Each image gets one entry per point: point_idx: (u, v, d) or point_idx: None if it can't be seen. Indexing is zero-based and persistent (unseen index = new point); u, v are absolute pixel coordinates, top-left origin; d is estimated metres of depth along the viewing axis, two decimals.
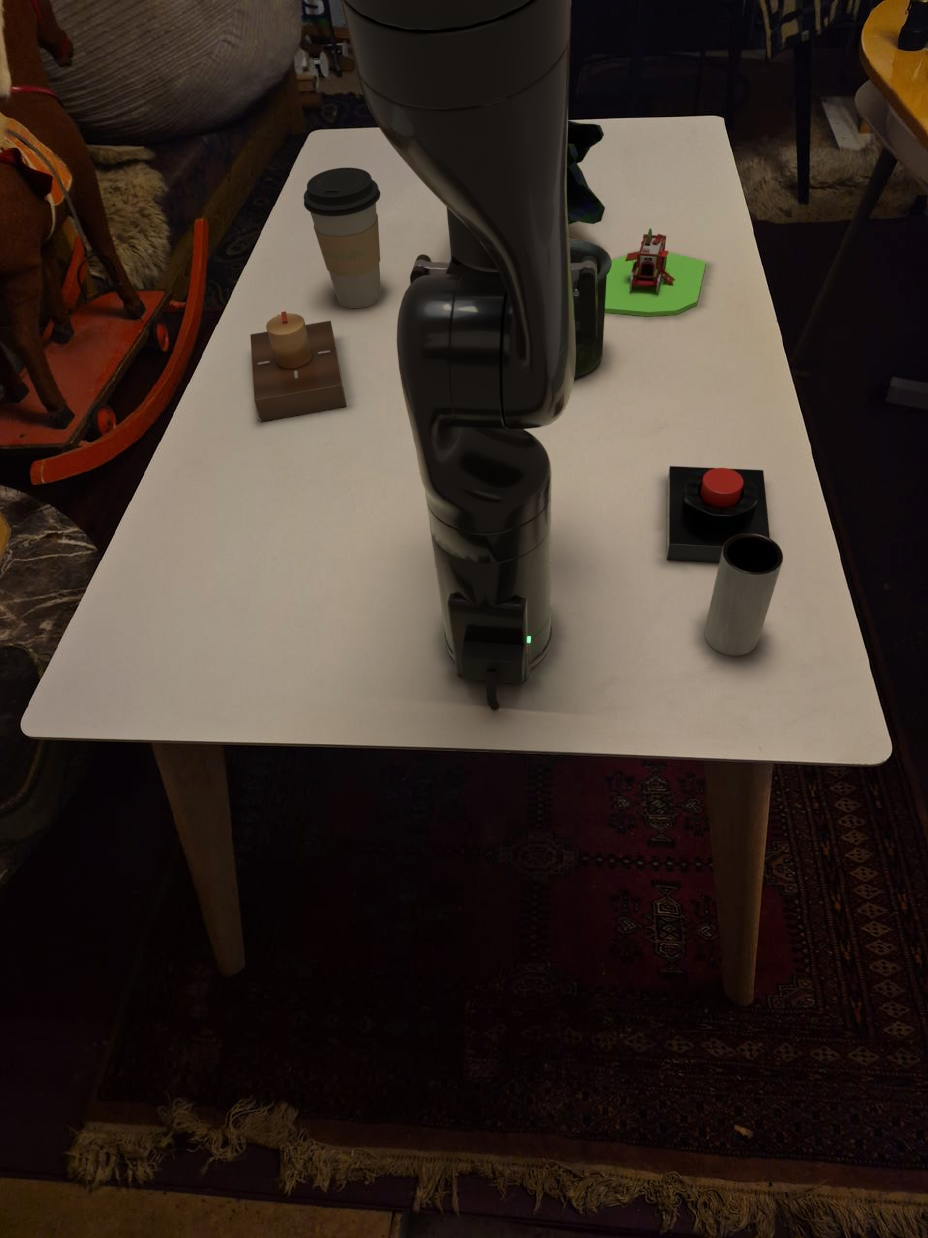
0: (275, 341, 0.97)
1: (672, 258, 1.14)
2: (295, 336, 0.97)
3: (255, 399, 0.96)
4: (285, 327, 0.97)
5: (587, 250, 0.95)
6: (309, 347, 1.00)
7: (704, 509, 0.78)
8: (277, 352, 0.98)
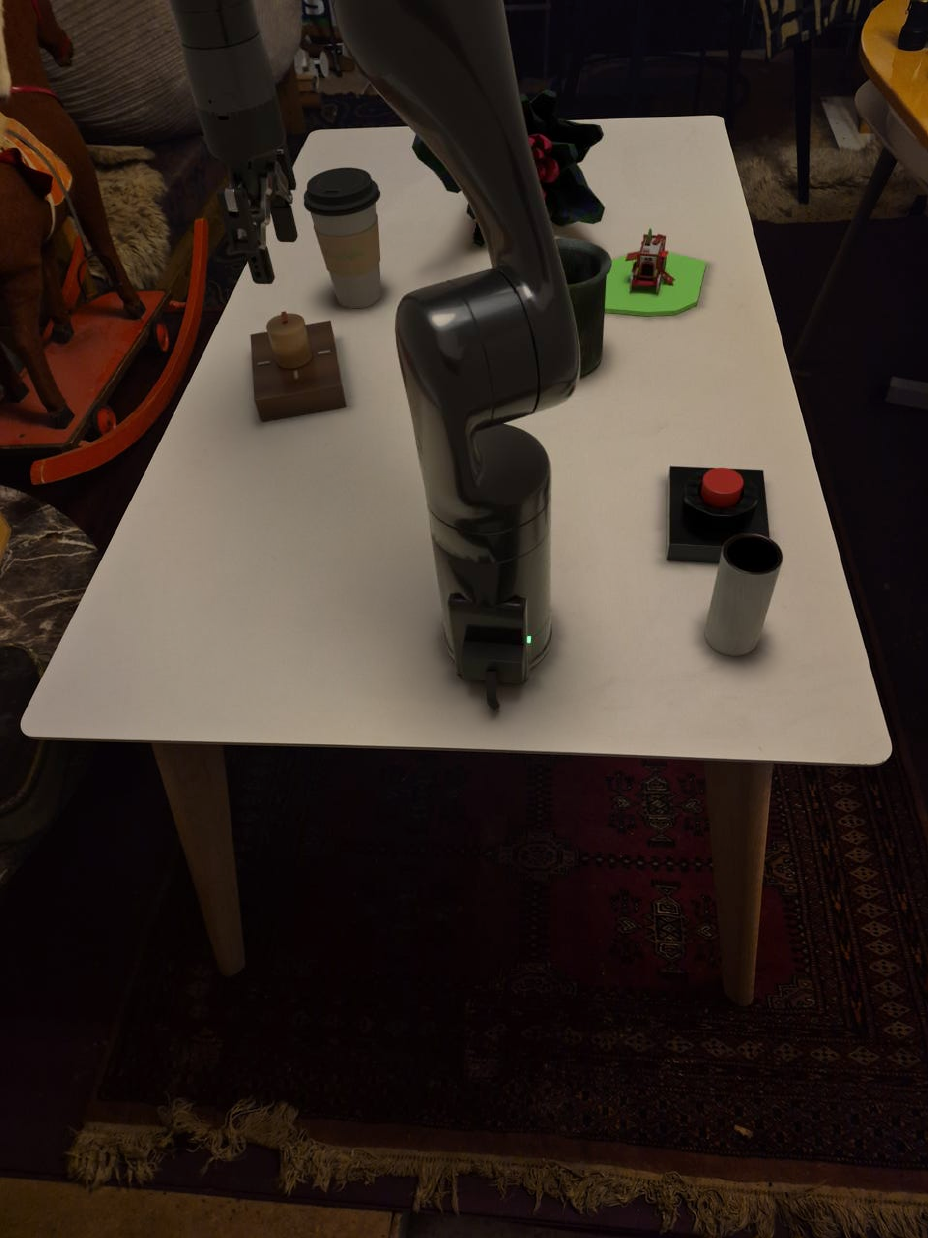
0: (275, 341, 0.97)
1: (672, 258, 1.14)
2: (295, 336, 0.97)
3: (255, 399, 0.96)
4: (285, 327, 0.97)
5: (587, 250, 0.95)
6: (309, 347, 1.00)
7: (704, 509, 0.78)
8: (277, 352, 0.98)
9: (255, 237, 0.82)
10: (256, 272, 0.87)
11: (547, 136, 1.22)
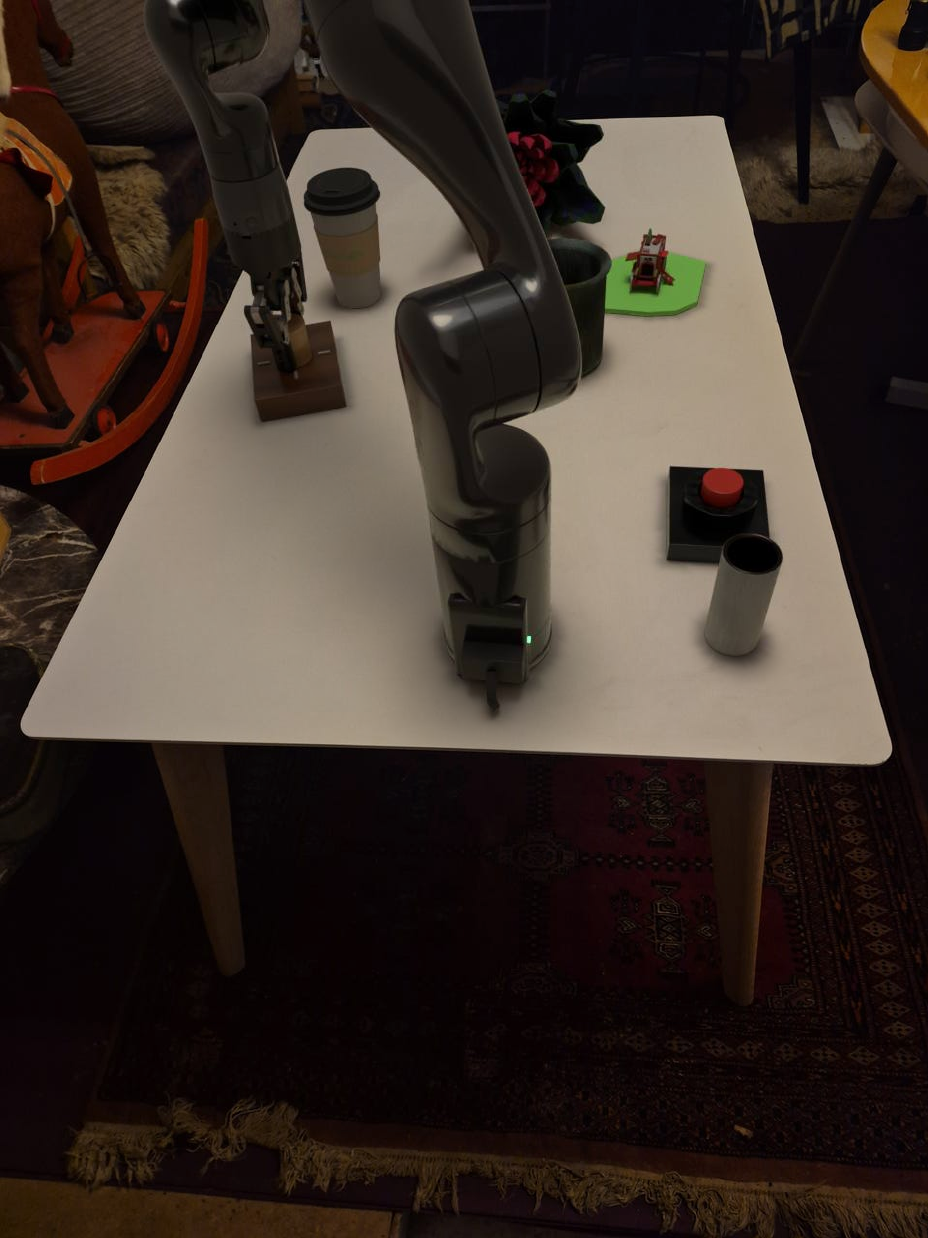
0: None
1: (672, 258, 1.14)
2: (295, 336, 0.97)
3: (255, 399, 0.96)
4: None
5: (587, 250, 0.95)
6: (309, 347, 1.00)
7: (704, 509, 0.78)
8: None
9: (280, 335, 0.94)
10: (280, 363, 0.98)
11: (547, 136, 1.22)
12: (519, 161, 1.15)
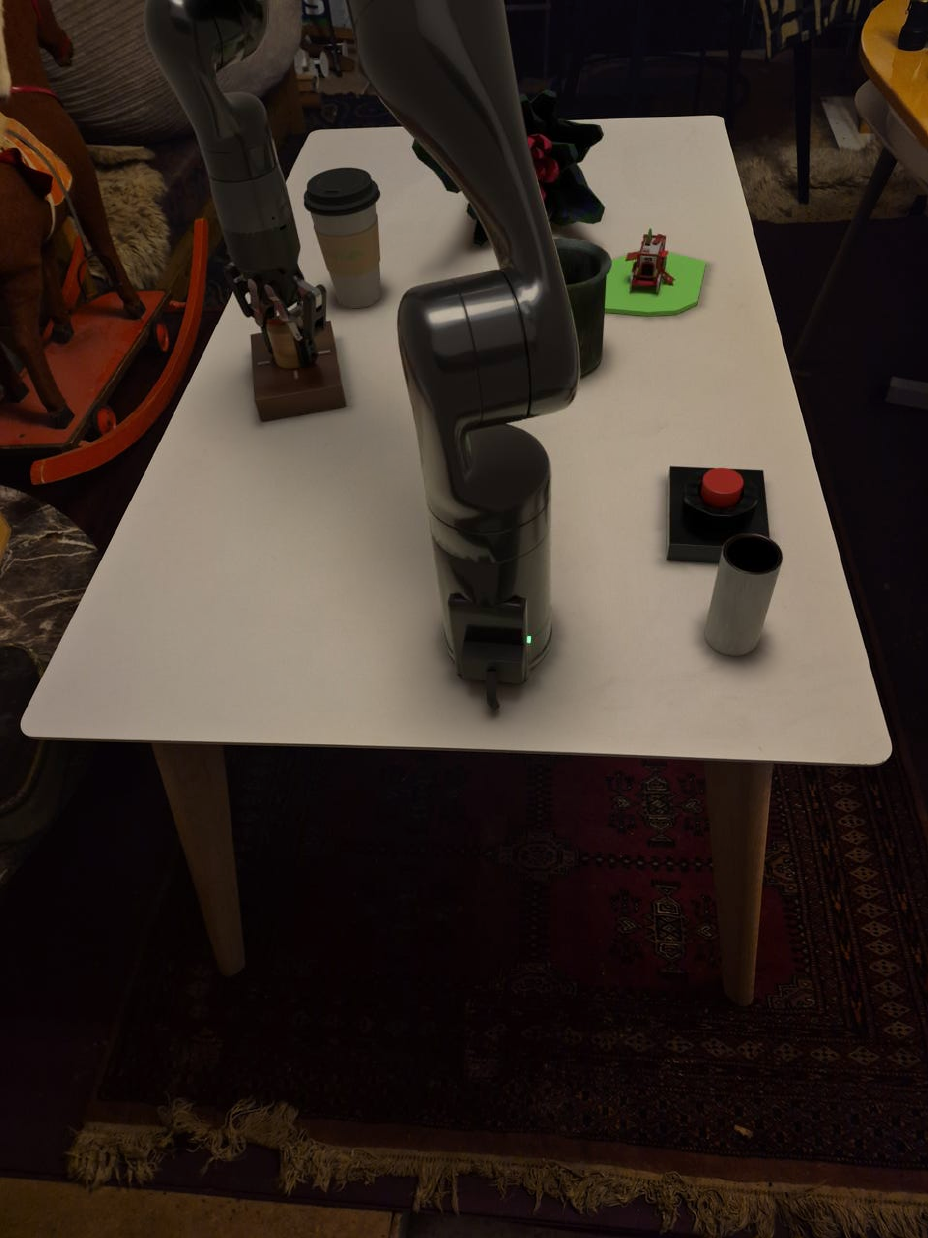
0: None
1: (672, 258, 1.14)
2: None
3: (255, 399, 0.96)
4: None
5: (587, 250, 0.95)
6: None
7: (704, 509, 0.78)
8: None
9: None
10: (310, 354, 0.98)
11: (547, 136, 1.22)
12: None
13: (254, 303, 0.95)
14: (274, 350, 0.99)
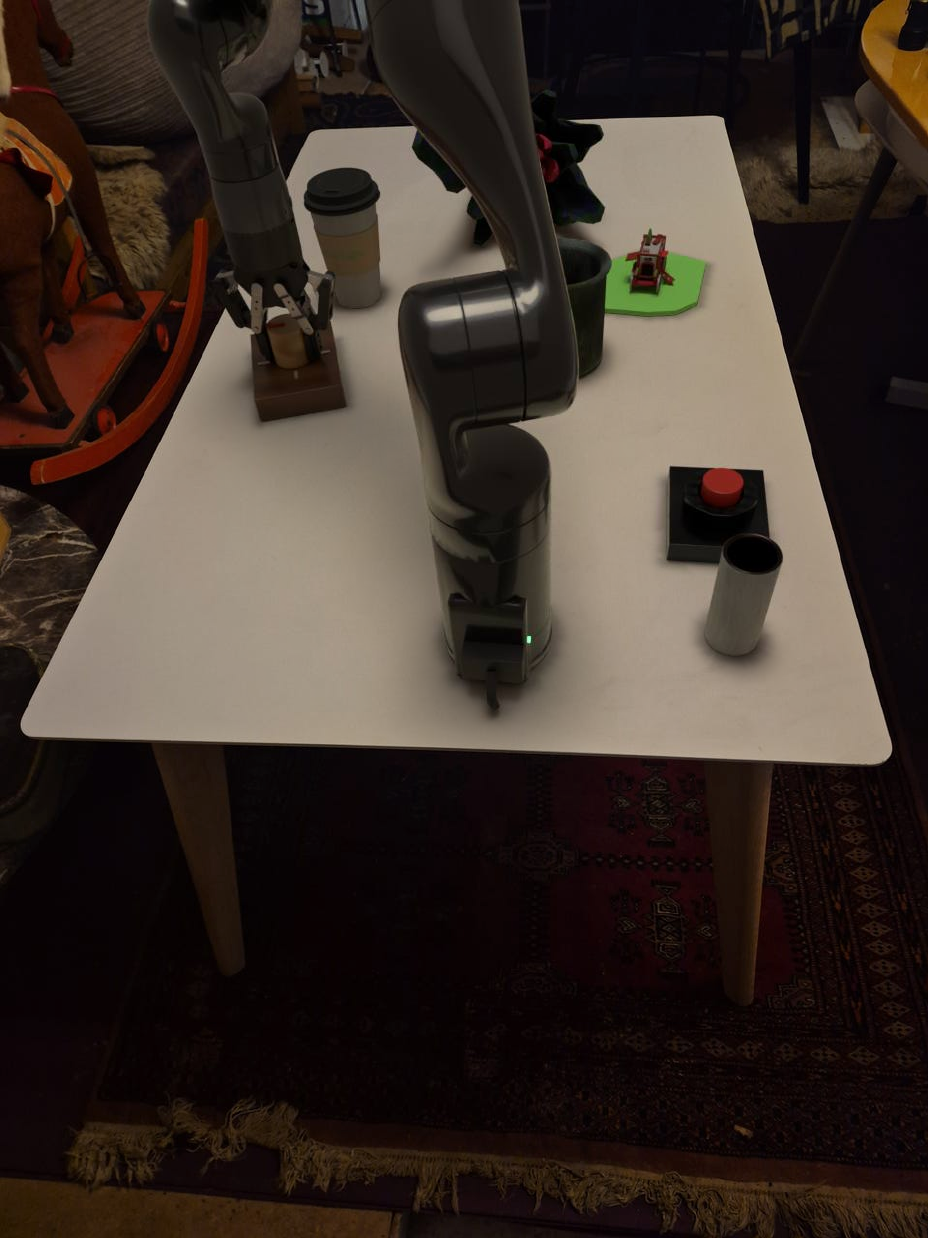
0: None
1: (672, 258, 1.14)
2: None
3: (255, 399, 0.96)
4: (292, 322, 0.98)
5: (587, 250, 0.95)
6: None
7: (704, 509, 0.78)
8: (305, 347, 0.99)
9: None
10: None
11: (547, 136, 1.22)
12: None
13: (255, 309, 0.95)
14: (281, 352, 0.98)
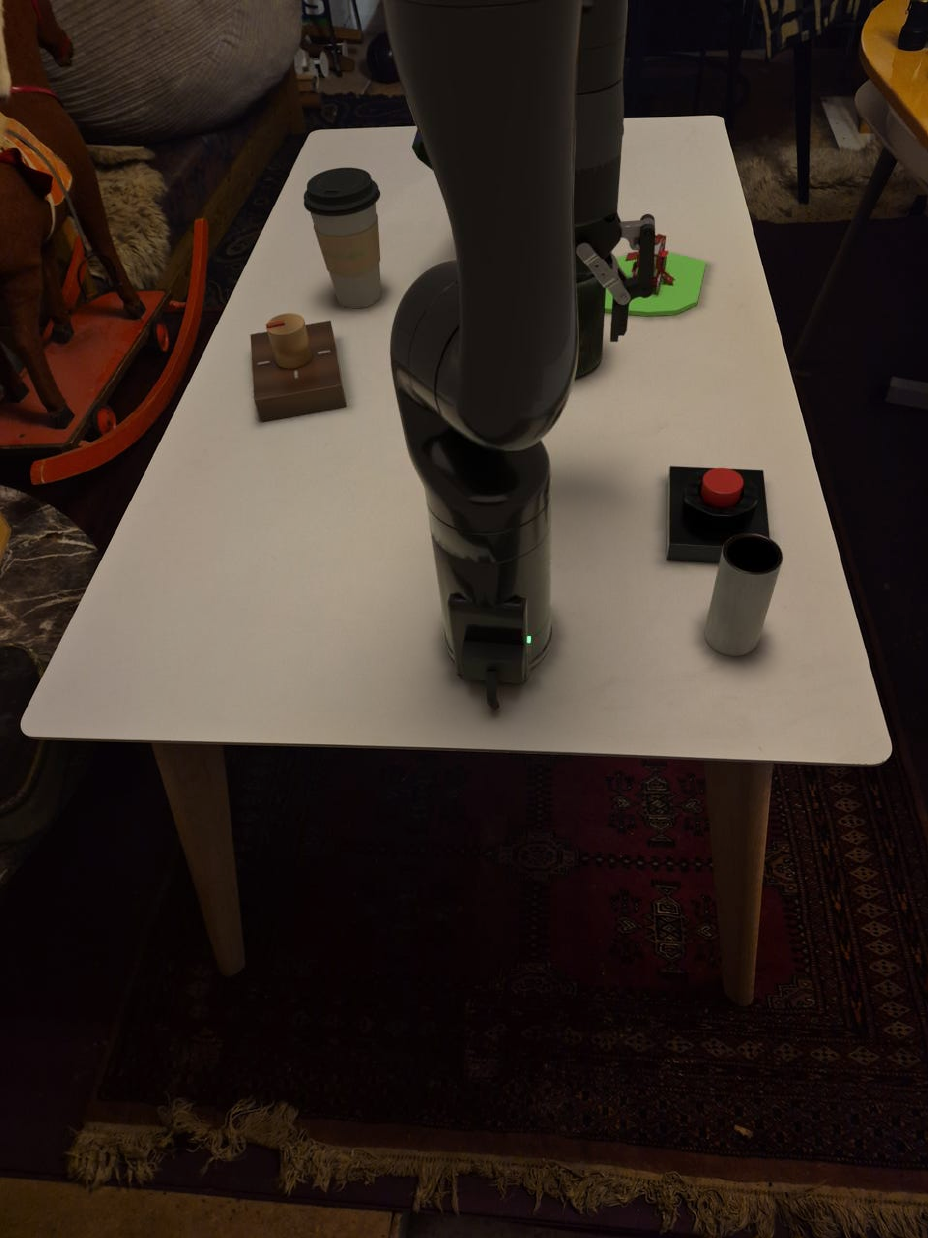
0: (303, 334, 0.98)
1: (672, 258, 1.14)
2: None
3: (255, 399, 0.96)
4: (292, 322, 0.98)
5: None
6: None
7: (704, 509, 0.78)
8: (305, 347, 0.99)
9: None
10: None
11: None
12: None
13: None
14: (281, 352, 0.98)
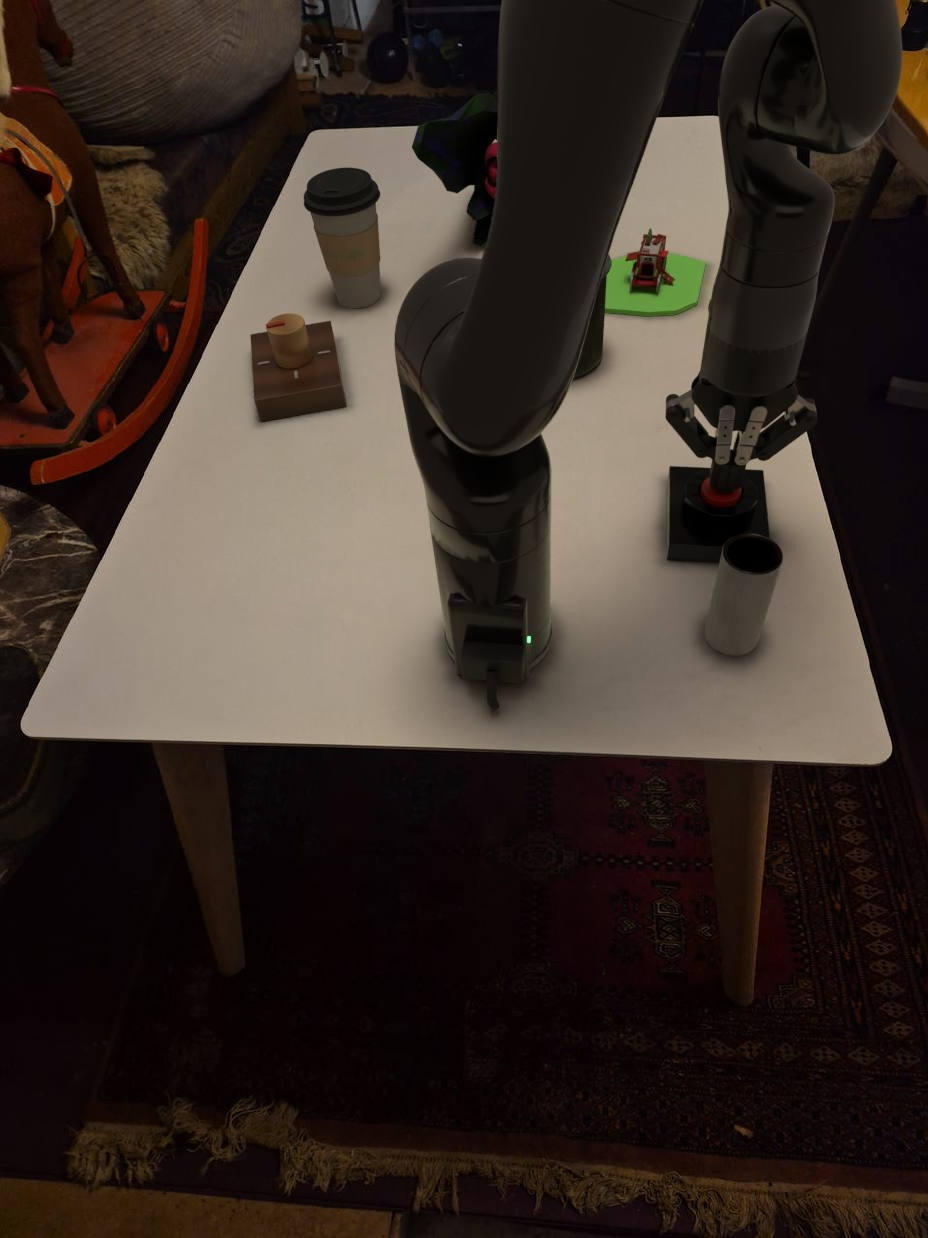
0: (303, 334, 0.98)
1: (672, 258, 1.14)
2: None
3: (255, 399, 0.96)
4: (292, 322, 0.98)
5: None
6: None
7: (704, 509, 0.78)
8: (305, 347, 0.99)
9: None
10: None
11: None
12: None
13: (724, 436, 0.73)
14: (281, 352, 0.98)
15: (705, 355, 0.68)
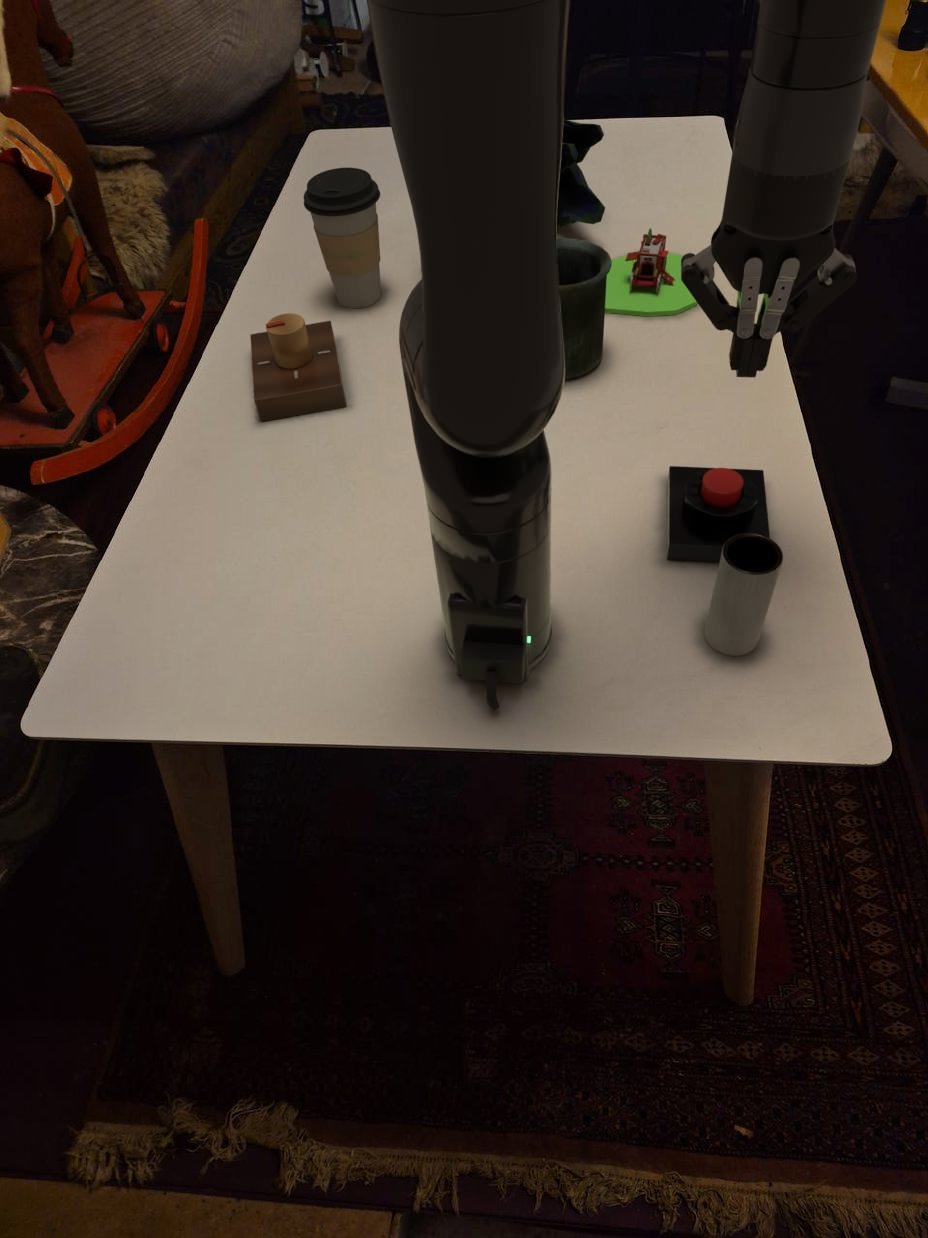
0: (303, 334, 0.98)
1: (672, 258, 1.14)
2: None
3: (255, 399, 0.96)
4: (292, 322, 0.98)
5: (587, 250, 0.95)
6: None
7: (704, 509, 0.78)
8: (305, 347, 0.99)
9: None
10: None
11: None
12: None
13: (749, 299, 0.63)
14: (281, 352, 0.98)
15: (729, 194, 0.59)
